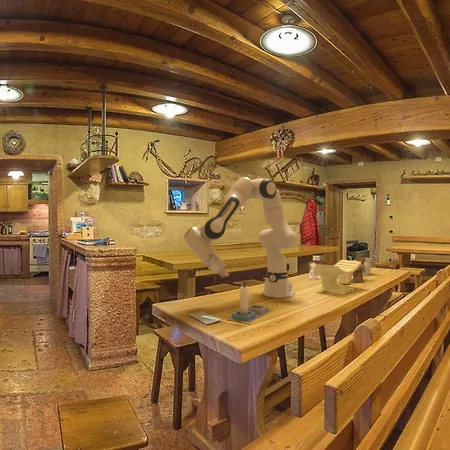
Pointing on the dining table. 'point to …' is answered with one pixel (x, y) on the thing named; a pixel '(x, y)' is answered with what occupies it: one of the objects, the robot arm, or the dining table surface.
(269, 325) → the dining table surface
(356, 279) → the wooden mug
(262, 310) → the lever base plate
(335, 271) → the slatted curved stool
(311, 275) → the white creature statuette
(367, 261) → the pitcher
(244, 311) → the knob-topped cream cylinder
